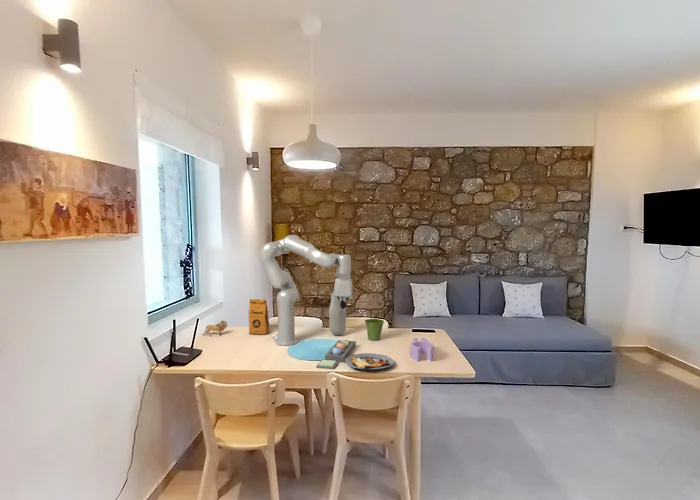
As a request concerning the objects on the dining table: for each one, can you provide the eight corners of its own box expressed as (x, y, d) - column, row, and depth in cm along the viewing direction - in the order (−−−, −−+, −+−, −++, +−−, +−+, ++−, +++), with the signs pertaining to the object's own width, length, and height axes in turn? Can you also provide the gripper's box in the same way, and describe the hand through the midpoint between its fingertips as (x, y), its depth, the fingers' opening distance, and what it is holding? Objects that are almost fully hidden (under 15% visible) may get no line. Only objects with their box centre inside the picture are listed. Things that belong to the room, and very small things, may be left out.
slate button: (331, 356, 225) (331, 349, 225) (333, 354, 230) (333, 346, 229) (340, 357, 224) (340, 349, 224) (342, 354, 229) (342, 347, 228)
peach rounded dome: (335, 351, 234) (335, 344, 233) (337, 348, 238) (337, 341, 238) (344, 352, 233) (344, 344, 232) (346, 349, 237) (346, 342, 237)
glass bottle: (348, 334, 273) (348, 290, 270) (337, 338, 265) (337, 292, 263) (337, 331, 279) (337, 288, 277) (326, 335, 272) (326, 290, 269)
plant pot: (381, 342, 255) (381, 323, 254) (361, 340, 259) (362, 322, 259) (386, 337, 266) (386, 319, 266) (368, 335, 270) (368, 317, 270)
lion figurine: (227, 333, 275) (227, 319, 274) (227, 335, 270) (226, 321, 269) (202, 334, 272) (202, 320, 271) (202, 337, 266) (201, 322, 266)
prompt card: (316, 367, 213) (316, 364, 213) (321, 361, 222) (321, 358, 222) (334, 369, 211) (334, 366, 211) (338, 363, 220) (338, 360, 220)
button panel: (325, 360, 223) (325, 355, 223) (338, 345, 250) (338, 340, 250) (344, 362, 221) (344, 356, 221) (355, 346, 248) (355, 341, 248)
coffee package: (265, 336, 269) (264, 301, 267) (246, 335, 272) (246, 300, 270) (271, 332, 279) (271, 298, 277) (253, 330, 281) (252, 297, 280)
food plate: (401, 369, 210) (401, 362, 210) (356, 376, 202) (356, 368, 202) (380, 355, 234) (380, 349, 234) (339, 360, 226) (339, 354, 226)
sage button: (339, 349, 243) (339, 341, 242) (341, 346, 247) (341, 339, 247) (348, 349, 241) (348, 342, 241) (350, 347, 246) (350, 340, 246)
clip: (407, 349, 243) (407, 337, 242) (430, 350, 242) (430, 337, 242) (411, 361, 223) (412, 348, 222) (436, 362, 222) (436, 348, 222)
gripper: (329, 276, 244) (328, 308, 246) (355, 278, 241) (354, 310, 242) (332, 274, 251) (332, 306, 253) (358, 276, 248) (357, 307, 249)
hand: (343, 308), depth 248 cm, fingers closed
